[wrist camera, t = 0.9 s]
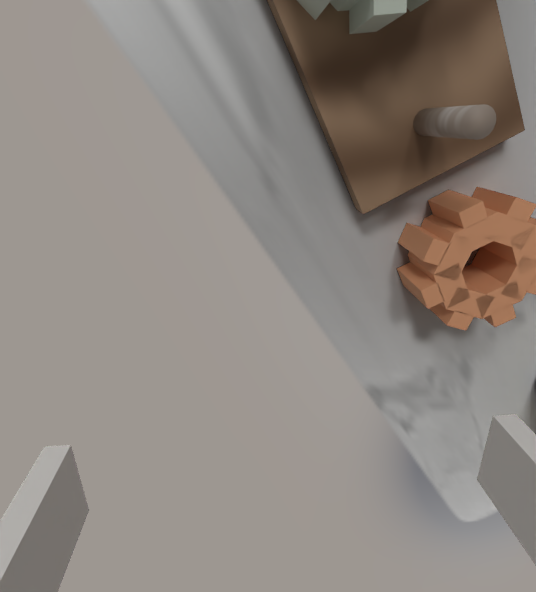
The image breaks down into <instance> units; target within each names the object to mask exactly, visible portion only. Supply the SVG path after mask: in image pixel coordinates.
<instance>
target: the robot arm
mask: <svg viewBox="0 0 536 592" xmlns="http://www.w3.org/2000/svg"><path fill="white" fill-rule="evenodd" d="M477 480H478V482H479V483H480V485H481V486H482V488H483V489H484V491H485V492H486V494H487V495H488V496H489V498H490V499H491V501H492V502H493V504H494V505H495V507H496V508H497V510H498V511H499V512H500V514H501V515H502V517H503V518H504V520H505V521H506V523H507V524H508V526H509V527H510V529H511V530H512V531H513V533H514V534H515V536H516V537H517V539H518V540H519V542H520V543H521V545H522V546H523V547H524V549H525V550H526V552H527V553H528V555H529V556H530V557H531V559H532V561H533V562H534V564H535V565H536V434H535V433H534V432H533V431H532V430H531V429H530V428H529V427H528V426H527V425H526V424H525V423H524V422H523V421H522V420H521V419H520V418H519V417H518V416H517V415H516V414H512V415H498V416H493V418H492V422H491V426H490V430H489V434H488V438H487V442H486V446H485V450H484V454H483V458H482V462H481V466H480V470H479V474H478V477H477ZM88 511H89V509H88V505H87V502H86V498H85V494H84V491H83V487H82V484H81V480H80V476H79V473H78V469H77V465H76V462H75V458H74V455H73V451H72V447H71V445H62V446H47V447H44V448H43V450H42V452H41V453H40V455H39V457H38V458H37V460H36V462H35V463H34V465H33V467H32V468H31V470H30V472H29V473H28V475H27V477H26V478H25V480H24V482H23V484H22V485H21V487H20V489H19V490H18V492H17V494H16V495H15V497H14V498H13V500H12V502H11V504H10V505H9V507H8V508H7V510H6V512H5V513H4V515H3V517H2V519H1V520H0V592H58V589H59V587H60V584H61V581H62V579H63V577H64V573H65V571H66V569H67V566H68V563H69V561H70V558H71V555H72V553H73V550H74V548H75V545H76V542H77V540H78V537H79V535H80V532H81V529H82V527H83V524H84V522H85V519H86V516H87V514H88Z"/></svg>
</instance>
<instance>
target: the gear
mask: <svg viewBox="0 0 536 592" xmlns="http://www.w3.org/2000/svg"><path fill="white" fill-rule="evenodd" d="M297 1H298V2H299V3H300V5H301V6H302V7H303V8H304V9H305V10H306V11H307V12H308V13H309V14H310V15H311V16H312V17H313V18H314V20H316V19H317V18H318V16H319V15H320V14H321V13H322V11H323V10H324V9H325V8H326V6H327V5H328V4H329V2H330V3H331V5H332V6H333V7H334V8H335V9H336V10H337V11H346V10H349V34H356V33H367V32H377V31H378V30H380V29H381V28H383V27H385V26H386V25H388V24H389V23H391V22H392V21H394V20H395V19H397V18H399V17H400V16H402V15H403V14H405V13H406V11H407V8H408V10H409V11H410V12H411V11H413V10H414V9H416V8H417V7H419V6H421V5H422V4H424V3H425V2H427V1H429V0H297Z"/></svg>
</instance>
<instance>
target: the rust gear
mask: <svg viewBox="0 0 536 592" xmlns="http://www.w3.org/2000/svg"><path fill="white" fill-rule="evenodd" d="M428 202H429V205H430V208H431V211H432V215H430V216H428V217H426V218H424V220H423V222H422V224H421V227H419V226H416V225H413V224H410V223H406V225H405V228H404V230H403V232H402V234H401V237H400V239H399V241H398V243H399V244H400V245H402V246H403V247H404V248H406V249H407V250H409V253H408V257H409V260H410V262H409V263H407V264H405V265H403V266H401V267H399V268H397V271H398V273H399V276H400V278H401V281H402V283H403V285H404V286H405V287H406V288H407V289H408V290H409V291H410V292H411V293H412V294H413V295H414V296H415V297H416V298H417V299H418V300H419V301H420V302H421V303H422V304H423V305H424V306H425V307H426V308H427V309H430V310H431V311H432V312H433V313H434V314H436V315H437V316H438V317H439V318H440V319H441V320H442V321H443V322H444V323H445V324H446V325H447V326H451V327H454V328H458V329H462V330H467V328H468V327H469V325H470V323H471V321H472V319H473V318H474V317H476V318H480V319H483V318H484V319H485V320H486V321H488V322H489V323H490V324H491V325H493V326H494V327H497V326H499V325H501V324H503V323H505V322H508V321H510V320H512V319H514V318H516V315H515V311H514V308H513V304H515V303H518V302H520V301H522V299H523V298H524V296H525V294H526V293H527V292H528V293H532V294H535V295H536V219H534V218H531V217H530V216H531V215H532V213H533V211H534V209H535V207H536V204H534V203H531V202H528V201H525V200H523V199H520V198H517V197H513V196H510V195H506V194H502V193H498V192H495V191H491V190H487V189H483V188H480V187H477V188H476V190H475V192H474V194H473V196H472V197H470V196H467V195H463V194H460V193H457V192H454V191H451V190H447V191H445V192H443V193H441V194H439V195H437V196H435V197H433V198H431V199H429V200H428ZM478 248H479V250H478V252H477V254H476V256H475V258H474V259H473V261H472V263H471V264H470V265H468V266H466V267H464V266H465V264H466V262H467V260H468V258H469V257H470V255H471V253H472V251H474V250H476V249H478Z"/></svg>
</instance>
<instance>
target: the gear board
mask: <svg viewBox="0 0 536 592" xmlns="http://www.w3.org/2000/svg"><path fill="white" fill-rule="evenodd" d="M267 1H268V4H269V6H270V8H271V11H272V13H273V16H274V18H275V20H276V23H277V25H278V27H279V30H280V32H281V34H282V37H283V39H284V41H285V44H286V46H287V48H288V51H289V53H290V55H291V58H292V60H293V62H294V65H295V67H296V69H297V72H298V74H299V76H300V79H301V81H302V83H303V86H304V88H305V90H306V93H307V95H308V98H309V100H310V102H311V105H312V107H313V109H314V112H315V114H316V116H317V119H318V121H319V123H320V126H321V128H322V130H323V133H324V135H325V137H326V140H327V142H328V144H329V147H330V149H331V151H332V154H333V156H334V158H335V161H336V163H337V165H338V168H339V170H340V172H341V175H342V177H343V180H344V182H345V184H346V187H347V189H348V191H349V194H350V196H351V198H352V201H353V203H354V205H355V208H356V209H357V210H358V211H359V212H361V213H362V214H365V213H367V212H369V211H371V210H373V209H375V208H377V207H378V206H380V205H382V204H384V203H386V202H388V201H390V200H392V199H394V198H396V197H398V196H400V195H401V194H403V193H405V192H407V191H409V190H411V189H413V188H415V187H417V186H419V185H421V184H423V183H424V182H426V181H428V180H430V179H432V178H434V177H436V176H438V175H440V174H442V173H444V172H446V171H447V170H449V169H451V168H453V167H455V166H457V165H459V164H461V163H463V162H465V161H467V160H469V159H470V158H472V157H474V156H476V155H478V154H480V153H482V152H484V151H486V150H488V149H490V148H492V147H493V146H495V145H497V144H499V143H501V142H503V141H505V140H507V139H509V138H511V137H513V136H515V135H516V134H518V133H520V132H522V131H524V130H525V129H524V124H523V120H522V115H521V111H520V106H519V102H518V97H517V93H516V88H515V83H514V79H513V74H512V70H511V65H510V61H509V56H508V52H507V47H506V43H505V38H504V34H503V29H502V25H501V20H500V16H499V11H498V7H497V2H496V0H429V1H427V2H425V3H424V4H422V5H421V6H419V7H417V8H416V9H414V10H413V11H411V12H410V11H409V10H408V8H407V11H406V13H405V14H403V15H402V16H400V17H399V18H397V19H395V20H394V21H392V22H391V23H389V24H388V25H386V26H385V27H383V28H381V29H380V30H378V31H377V32H367V33H356V34H349V10H346V11H337V10H336V9H335V8H334V7H333V6H332V5H331V3H330V2H329V4H328V5H327V6H326V8H325V9H324V10H323V11H322V13H321V14H320V15H319V16H318V18H317V19H316V20H314V18H313V17H312V16H311V15H310V14H309V13H308V12H307V11H306V10H305V9H304V8H303V7H302V6H301V5H300V3H299V2H298V1H297V0H267Z"/></svg>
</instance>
